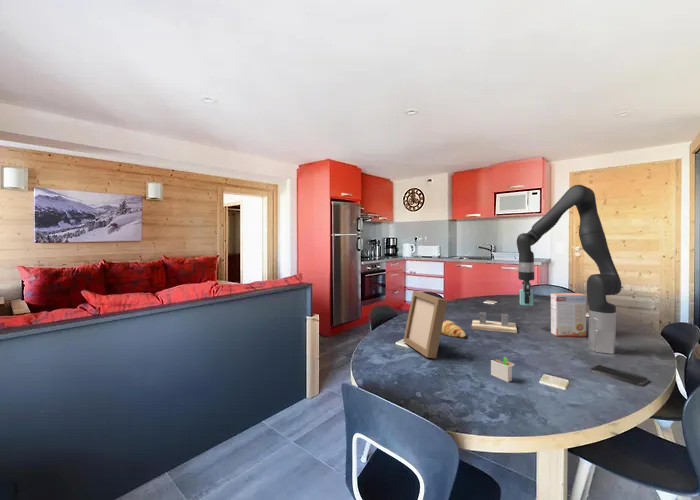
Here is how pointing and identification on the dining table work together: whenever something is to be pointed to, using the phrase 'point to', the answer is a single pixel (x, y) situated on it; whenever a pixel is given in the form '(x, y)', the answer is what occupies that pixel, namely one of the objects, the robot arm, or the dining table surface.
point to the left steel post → (483, 318)
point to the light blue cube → (522, 298)
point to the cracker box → (568, 314)
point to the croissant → (452, 329)
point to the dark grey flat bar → (620, 375)
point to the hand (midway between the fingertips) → (526, 302)
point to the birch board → (494, 326)
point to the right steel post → (504, 320)
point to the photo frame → (425, 323)
